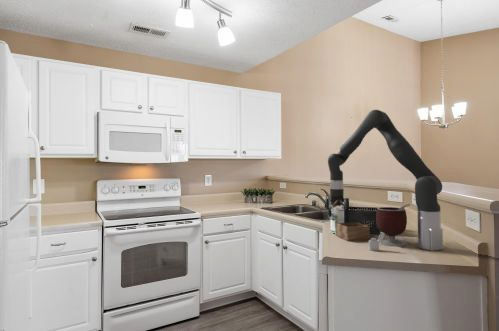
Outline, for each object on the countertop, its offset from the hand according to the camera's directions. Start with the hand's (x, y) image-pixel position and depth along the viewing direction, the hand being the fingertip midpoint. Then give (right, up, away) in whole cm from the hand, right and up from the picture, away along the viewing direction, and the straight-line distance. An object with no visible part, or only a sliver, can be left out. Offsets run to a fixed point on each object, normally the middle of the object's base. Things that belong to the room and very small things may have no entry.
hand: (337, 216), depth 179 cm
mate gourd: (+21, -9, -26) cm, 34 cm away
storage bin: (+20, -10, +7) cm, 23 cm away
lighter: (+8, -9, -37) cm, 39 cm away
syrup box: (0, -10, 0) cm, 10 cm away
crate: (+5, -10, -12) cm, 16 cm away
